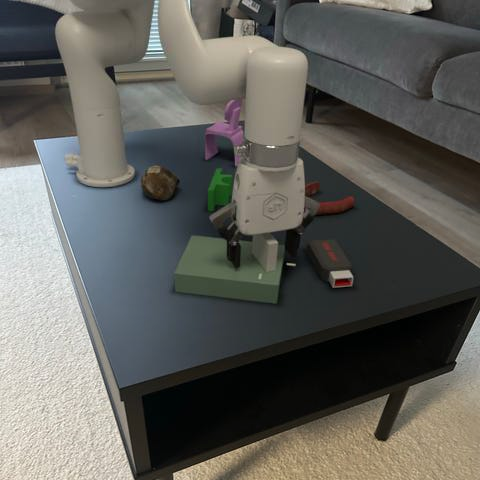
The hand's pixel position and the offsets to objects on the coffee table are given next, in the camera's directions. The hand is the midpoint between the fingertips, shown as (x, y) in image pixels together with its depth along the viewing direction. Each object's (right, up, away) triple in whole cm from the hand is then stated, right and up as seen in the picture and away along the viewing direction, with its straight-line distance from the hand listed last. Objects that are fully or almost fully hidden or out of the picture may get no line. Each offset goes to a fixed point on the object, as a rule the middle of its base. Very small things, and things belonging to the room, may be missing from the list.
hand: (262, 258), depth 79 cm
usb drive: (+12, -1, +6) cm, 13 cm away
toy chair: (-7, +30, +44) cm, 53 cm away
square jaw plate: (0, 0, +1) cm, 1 cm away
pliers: (+9, +13, +24) cm, 29 cm away
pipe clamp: (-8, +15, +26) cm, 31 cm away
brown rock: (-21, +17, +27) cm, 38 cm away
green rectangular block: (-4, -3, +3) cm, 6 cm away
